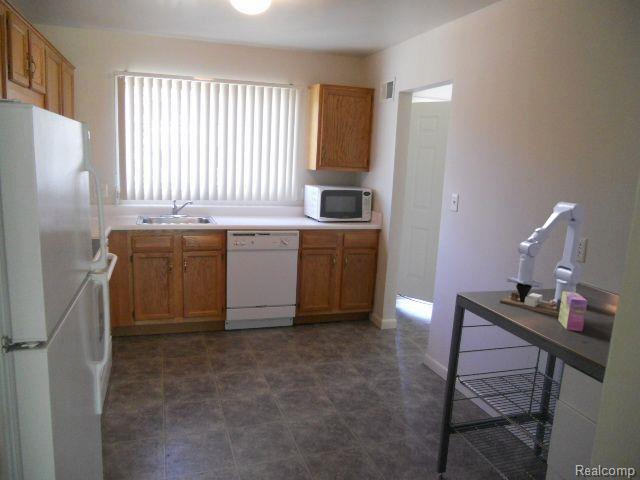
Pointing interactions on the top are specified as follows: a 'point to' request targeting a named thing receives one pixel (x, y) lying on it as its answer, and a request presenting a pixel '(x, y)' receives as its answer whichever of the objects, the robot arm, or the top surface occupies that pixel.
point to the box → (572, 311)
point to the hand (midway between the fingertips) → (522, 301)
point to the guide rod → (543, 302)
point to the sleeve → (532, 299)
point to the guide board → (539, 308)
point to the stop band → (551, 303)
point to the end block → (558, 304)
